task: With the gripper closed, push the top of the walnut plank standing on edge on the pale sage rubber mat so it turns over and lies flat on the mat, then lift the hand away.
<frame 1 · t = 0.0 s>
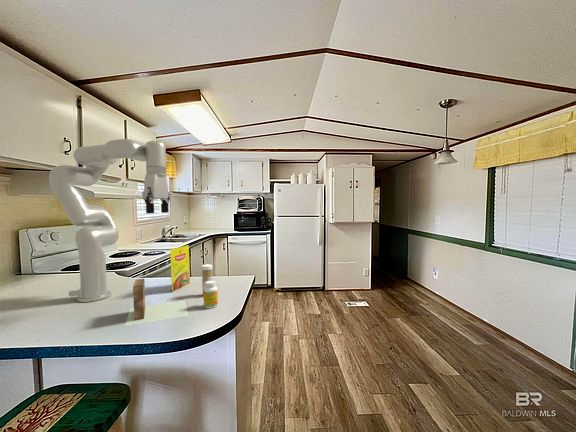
hand: (157, 212, 116), 37 cm above the table, tool pointing down, fingers open, 9 cm apart
food package: (181, 287, 136), on the table
supplement bottle: (211, 306, 110), on the table
sprinkles bottle: (207, 295, 124), on the table
mat: (158, 312, 103), on the table
walnut plank: (140, 314, 101), resting on mat
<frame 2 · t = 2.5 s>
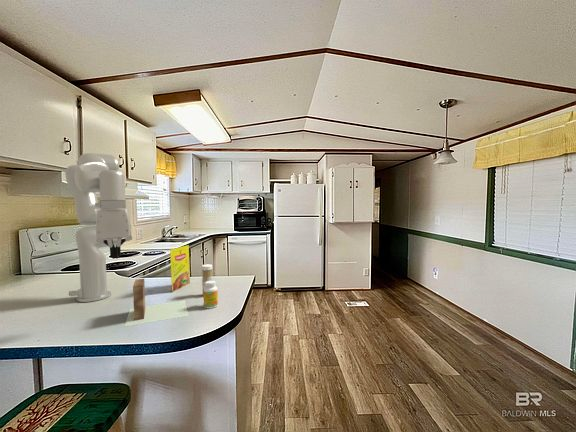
hand: (115, 258, 97), 22 cm above the table, tool pointing down, fingers closed
nothing on the table moved.
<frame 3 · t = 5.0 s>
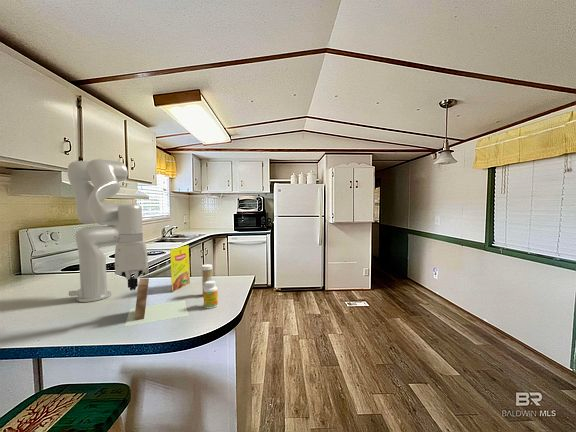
hand: (133, 289, 100), 10 cm above the table, tool pointing down, fingers closed
walnut plank: (140, 314, 101), point 1 cm above the table, tilted 8°, touching gripper, mat
everything else where it was.
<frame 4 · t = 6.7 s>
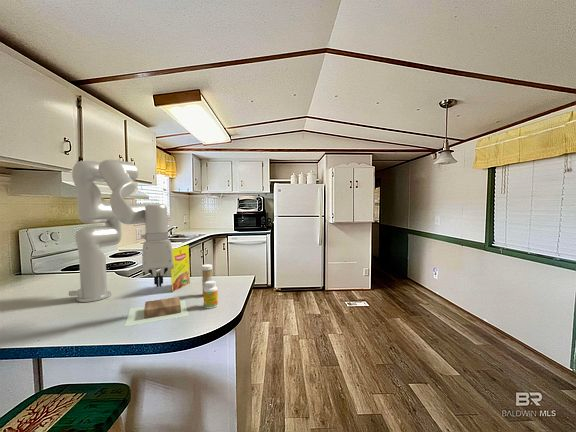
hand: (158, 285, 103), 10 cm above the table, tool pointing down, fingers closed
walnut plank: (145, 309, 102), point 2 cm above the table, tilted 90°, touching mat
everything else where it was.
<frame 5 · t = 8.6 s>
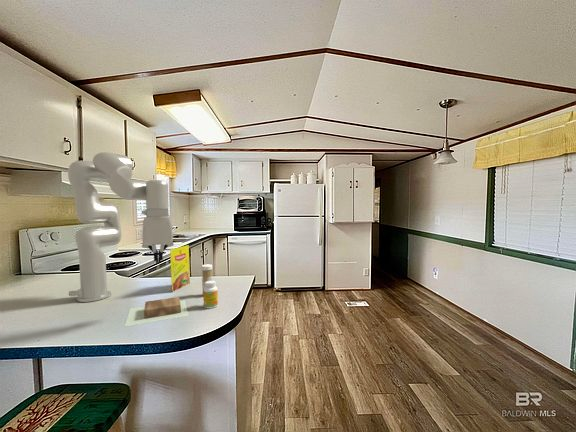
hand: (158, 262, 103), 19 cm above the table, tool pointing down, fingers closed
nothing on the table moved.
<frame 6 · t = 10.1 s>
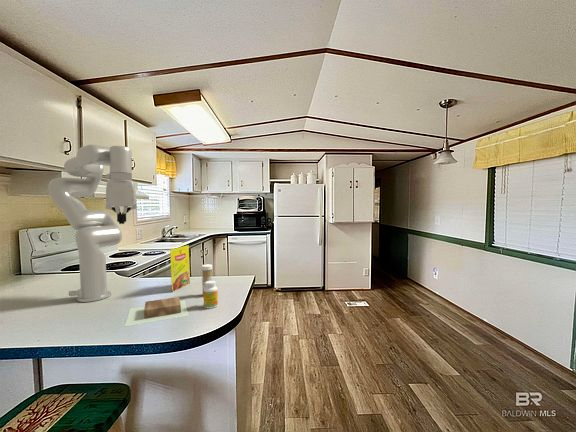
hand: (121, 223, 111), 33 cm above the table, tool pointing down, fingers closed
nothing on the table moved.
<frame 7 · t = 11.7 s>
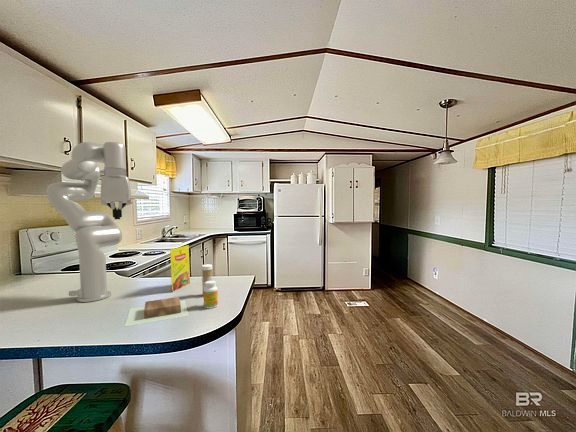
hand: (117, 219, 112), 35 cm above the table, tool pointing down, fingers closed
nothing on the table moved.
at the end: walnut plank tilted 90°; walnut plank touching mat; walnut plank inside the target area (0.4 cm from its centre), point 1.9 cm above the table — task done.
